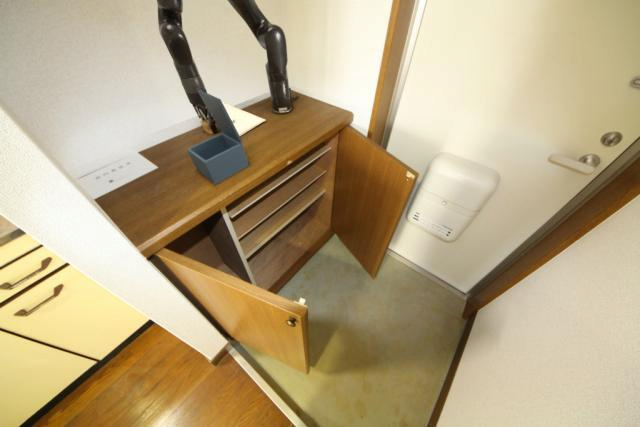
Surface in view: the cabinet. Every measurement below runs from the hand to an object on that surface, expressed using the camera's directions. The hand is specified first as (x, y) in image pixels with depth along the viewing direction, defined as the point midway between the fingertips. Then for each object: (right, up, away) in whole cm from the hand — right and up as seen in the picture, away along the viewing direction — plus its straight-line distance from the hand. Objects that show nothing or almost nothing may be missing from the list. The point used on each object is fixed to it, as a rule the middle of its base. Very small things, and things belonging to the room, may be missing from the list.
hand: (212, 130), depth 98 cm
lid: (+16, -7, -28) cm, 33 cm away
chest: (+13, -21, -18) cm, 30 cm away
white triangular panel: (+13, +1, +1) cm, 13 cm away
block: (0, 0, 0) cm, 0 cm away
